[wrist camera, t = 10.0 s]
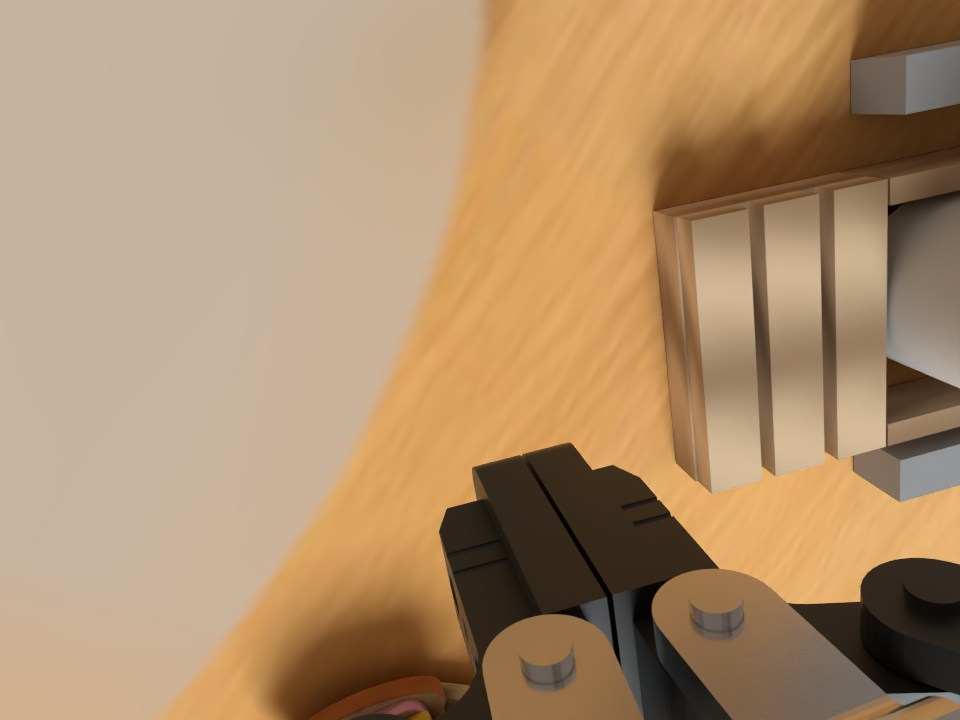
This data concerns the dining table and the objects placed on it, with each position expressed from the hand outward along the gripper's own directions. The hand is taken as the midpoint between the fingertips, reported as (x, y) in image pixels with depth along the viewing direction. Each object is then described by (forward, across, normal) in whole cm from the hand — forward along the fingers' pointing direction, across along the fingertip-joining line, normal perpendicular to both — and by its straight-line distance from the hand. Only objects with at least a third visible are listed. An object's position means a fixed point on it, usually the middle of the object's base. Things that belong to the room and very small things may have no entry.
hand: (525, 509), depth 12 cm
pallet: (+18, -19, +6) cm, 27 cm away
